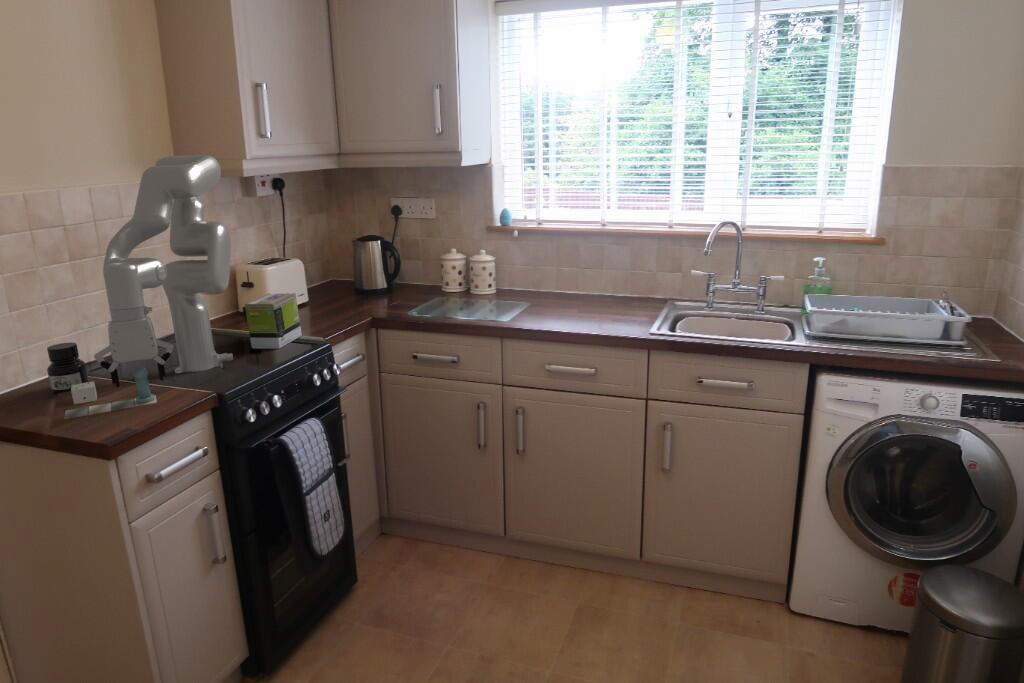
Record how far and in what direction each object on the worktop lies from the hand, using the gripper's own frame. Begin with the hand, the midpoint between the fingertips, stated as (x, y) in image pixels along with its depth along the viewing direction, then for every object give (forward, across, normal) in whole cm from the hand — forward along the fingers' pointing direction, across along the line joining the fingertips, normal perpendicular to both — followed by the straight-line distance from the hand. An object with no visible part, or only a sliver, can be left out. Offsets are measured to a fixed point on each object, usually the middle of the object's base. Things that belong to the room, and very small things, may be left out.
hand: (140, 382), depth 178 cm
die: (+6, +13, -11) cm, 18 cm away
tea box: (+5, -40, -42) cm, 58 cm away
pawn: (+5, 0, -1) cm, 5 cm away
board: (+6, +7, -1) cm, 9 cm away
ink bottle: (+6, +17, -28) cm, 33 cm away
